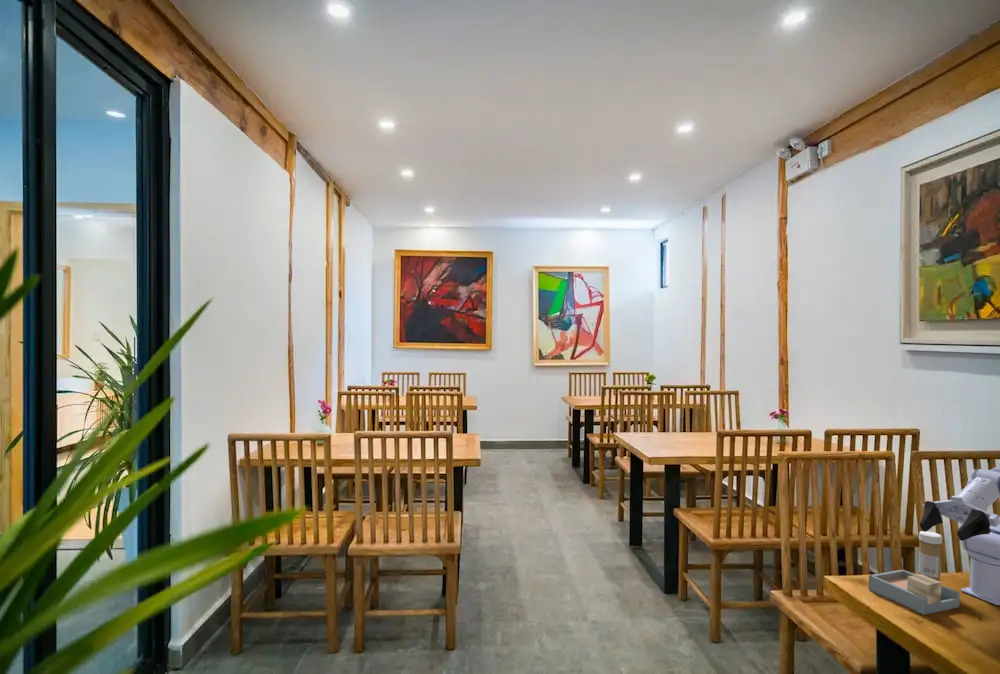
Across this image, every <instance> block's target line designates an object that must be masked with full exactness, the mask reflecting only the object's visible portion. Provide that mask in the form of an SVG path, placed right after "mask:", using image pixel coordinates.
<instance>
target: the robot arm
mask: <svg viewBox="0 0 1000 674" xmlns="http://www.w3.org/2000/svg"><path fill="white" fill-rule="evenodd" d="M998 498H1000V466H999V467H996V466H995V467H993V468H992V469H984V468H979V469H976V468H974V469H973V470H972V471H971V474H970V478H969V479H968V480H967V481H966V485H965V487H964V488H962V490H960V491H959V492H958V493H957V494H956V495H952V496H951V497H950V499H947V500H946V499H945V500H937V501H931V500H930V501H929V500H926V501H925V502H923V504H922V507H923V508H922V509H923V514H922V517H921V520H920V522H919V526H920V529H921V531H924V532H926V531H930V530H931V528H933V527H934V526H937V525H941V524H943V523H944V521H943V518H942V516H944V517H945V518H948V519H950V520H951V521H954V522H957V523H959V524H961V526H959V528H958V529H957V531H956V534H957V537H958V539H959V541H961V545H962V547H963V550H965V551H966V552H967V556H968V557H970V568H969V586H968V587H962V588H960V592H963V593H966V594H968V595H971V596H974V597H976V598H978V599H980V600H983V601H985V602H988V603H991V604H993V605H995V606H1000V515H998V514H996V513H992V512H989V511H986V510H988V509H989V507H991V506H992V504H994V502H996V500H997V499H998Z"/></svg>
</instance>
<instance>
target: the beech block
mask: <svg viewBox="0 0 1000 674" xmlns="http://www.w3.org/2000/svg"><path fill="white" fill-rule="evenodd" d="M941 585H942V581H940V582H939V581H937V580H934V579H932V578H929V577H927V576H924V575H922V574H919V573H918V574H915V575H914V576H908V582H907V591H910V592H912V593H914V594H917V595H919V596H921V597H924V598H926V599H927V605H929V604H933V603H938V602H941Z"/></svg>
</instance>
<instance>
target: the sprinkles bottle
mask: <svg viewBox="0 0 1000 674" xmlns="http://www.w3.org/2000/svg"><path fill="white" fill-rule="evenodd" d="M918 540H919V550H918V575H919V574H922V575H924V576H927V577H929V578H932V579H934V580H937V581H939V582H941V574H942V573H941V572H942V567H941V566H942V563H941V560H942V559H941V557H942V556H941V555H942V548H941V547H942V543H943V537H942V535H941V534H940V533H937V532H934V531H930V530H928V531H926V532H924V531H922V530H921V531H919V534H918Z"/></svg>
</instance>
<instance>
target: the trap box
mask: <svg viewBox="0 0 1000 674" xmlns="http://www.w3.org/2000/svg"><path fill="white" fill-rule="evenodd" d="M914 575H916V573H913V572H910V571H909V570H908V571H907V570H905V569H898V570H891V571H886V572H880V573H874V574H869V575H868V590H869V591H871V592H874V593H876V594H878V595H879V596H882V597H885V598H886V599H888V598H889V599H888V600H890V599H891V600H890V601H893V600H894V601H893V602H895V601H896V602H895V603H897V602H899V603H901V604H902V605H901V604H900V605H901V606H903V605H905V606H904V607H906V606H907V607H906V608H908V607H909V608H908V609H910V608H911V609H910V610H912V609H913V610H912V611H914V610H915V612H916V613H919V614H921V615H923V616H925V615H930V614H935V613H938V612H939V613H940V612H944V611H948V610H949V611H950V610H952V609H958V608H959V607H960V594H961V593H960V592H961V591H957V590H955V589H952V588H950V587H948V586H945V585H942V584H941V602H938V603H933V604H929V605H927V599H926V598H924V597H921V596H919V595H917V594H914V593H912V592H910V591H907V582H908V576H914ZM899 603H898V604H899Z"/></svg>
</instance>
